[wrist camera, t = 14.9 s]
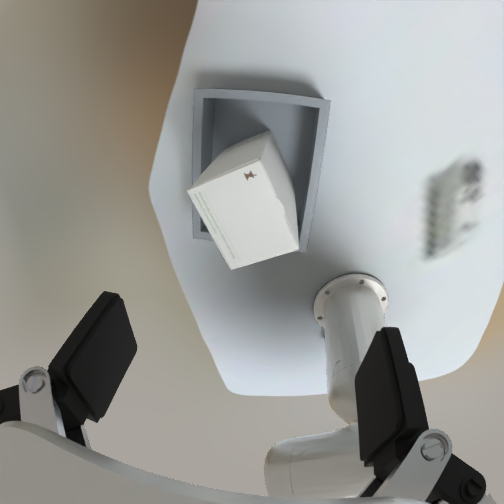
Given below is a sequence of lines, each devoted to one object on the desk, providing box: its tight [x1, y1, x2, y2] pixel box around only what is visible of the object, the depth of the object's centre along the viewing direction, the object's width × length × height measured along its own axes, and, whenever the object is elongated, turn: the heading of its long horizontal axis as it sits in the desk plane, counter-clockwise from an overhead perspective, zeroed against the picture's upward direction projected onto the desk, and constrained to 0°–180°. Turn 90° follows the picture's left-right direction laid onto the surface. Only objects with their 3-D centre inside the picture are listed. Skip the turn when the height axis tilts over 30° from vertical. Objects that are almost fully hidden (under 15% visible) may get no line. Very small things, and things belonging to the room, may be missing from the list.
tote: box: [192, 89, 331, 253], centre depth 33 cm, size 18×14×6 cm
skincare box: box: [187, 130, 299, 270], centre depth 29 cm, size 8×7×16 cm
